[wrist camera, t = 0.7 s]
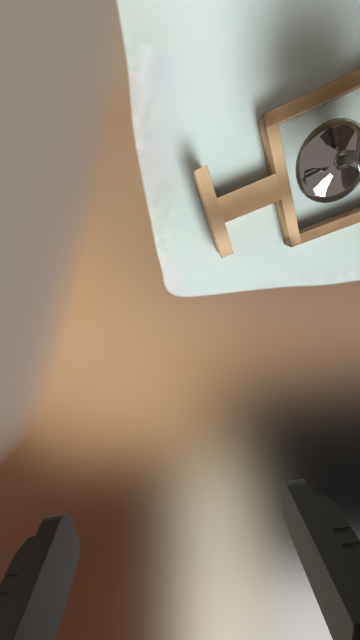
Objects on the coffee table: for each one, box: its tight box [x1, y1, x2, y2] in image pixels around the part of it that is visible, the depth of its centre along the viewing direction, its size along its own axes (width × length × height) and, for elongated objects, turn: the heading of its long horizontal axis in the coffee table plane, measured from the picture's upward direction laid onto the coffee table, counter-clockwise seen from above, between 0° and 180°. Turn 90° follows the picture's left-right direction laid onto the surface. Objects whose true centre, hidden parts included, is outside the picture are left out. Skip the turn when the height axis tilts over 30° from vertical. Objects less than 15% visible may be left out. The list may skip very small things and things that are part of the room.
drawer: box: [193, 69, 360, 258], centre depth 24 cm, size 12×19×4 cm, turn 111°
